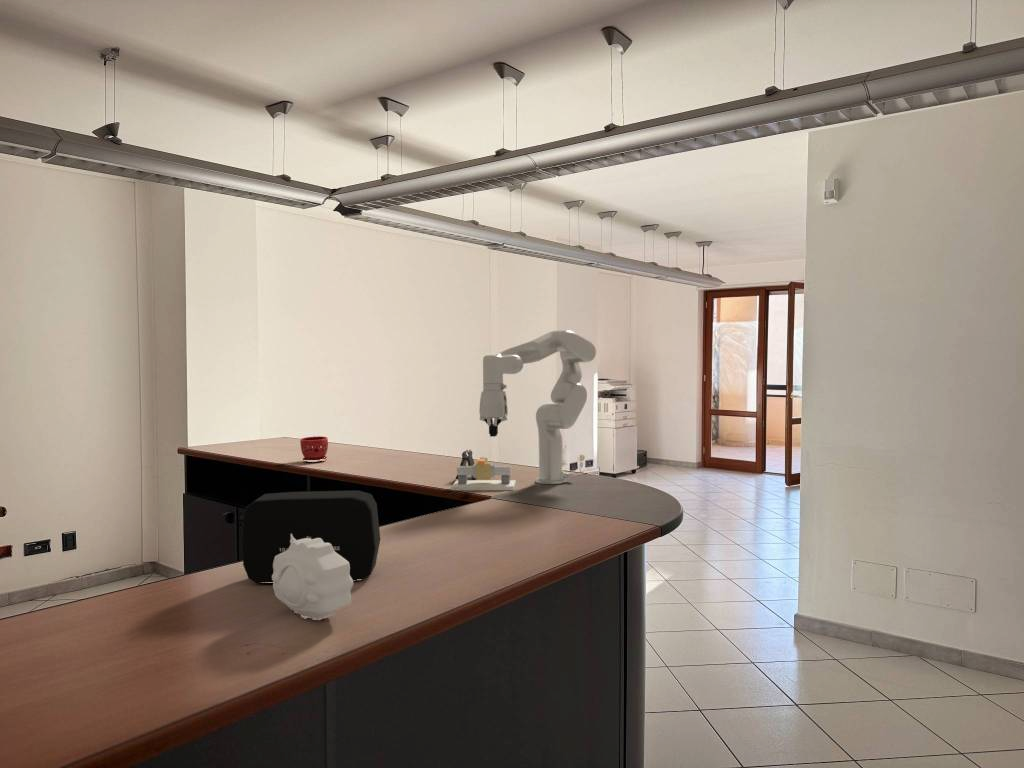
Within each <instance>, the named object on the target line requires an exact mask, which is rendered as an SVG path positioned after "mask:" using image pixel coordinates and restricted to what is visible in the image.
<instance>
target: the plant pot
mask: <svg viewBox="0 0 1024 768" xmlns="http://www.w3.org/2000/svg"><path fill="white" fill-rule="evenodd" d="M328 439H329V438H328V437H326V436H319V435H318V436H317V435H316V436H308V437H307V436H306V437H302V438H301V439H300V440H299V441H300V442H299V443H300V449H301V454H302V456H303V457H302V461H303V460H320V459H326V458H327V459H328V456H326V455H327V452H328V447H329V440H328ZM324 457H325V458H324ZM327 459H326V460H327Z"/></svg>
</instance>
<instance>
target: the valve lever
mask: <svg viewBox="0 0 1024 768" xmlns="http://www.w3.org/2000/svg"><path fill="white" fill-rule="evenodd" d="M476 461H477V462H476V463H477V466H482V465H485V461H486V462H488V457H487V456H481V457H480V459H478V460H476Z"/></svg>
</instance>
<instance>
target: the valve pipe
mask: <svg viewBox="0 0 1024 768" xmlns="http://www.w3.org/2000/svg"><path fill="white" fill-rule="evenodd" d="M457 475H467V476H471V475H473V478H476V480H492V479H493V478H495V476H502V475H510V476H511V475H512V465H496V463H493V461H485V465H482V466H477V462H475V464H474V465H473V466H468V465H466V466H460V465H458V466H456V476H457Z"/></svg>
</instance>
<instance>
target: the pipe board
mask: <svg viewBox="0 0 1024 768" xmlns="http://www.w3.org/2000/svg"><path fill="white" fill-rule="evenodd" d="M467 477H468V475H459V476H458V480H455V482H454V483H453V484H452V485H451V490H452V489H458V490H457V491H514V490H515V488H514V487H516V485H517V480H515V479H511V475H500V477H501V479H497V480H495V479H493V480H492V479H491V480H467ZM515 484H516V485H515ZM459 489H460V490H459Z"/></svg>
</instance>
